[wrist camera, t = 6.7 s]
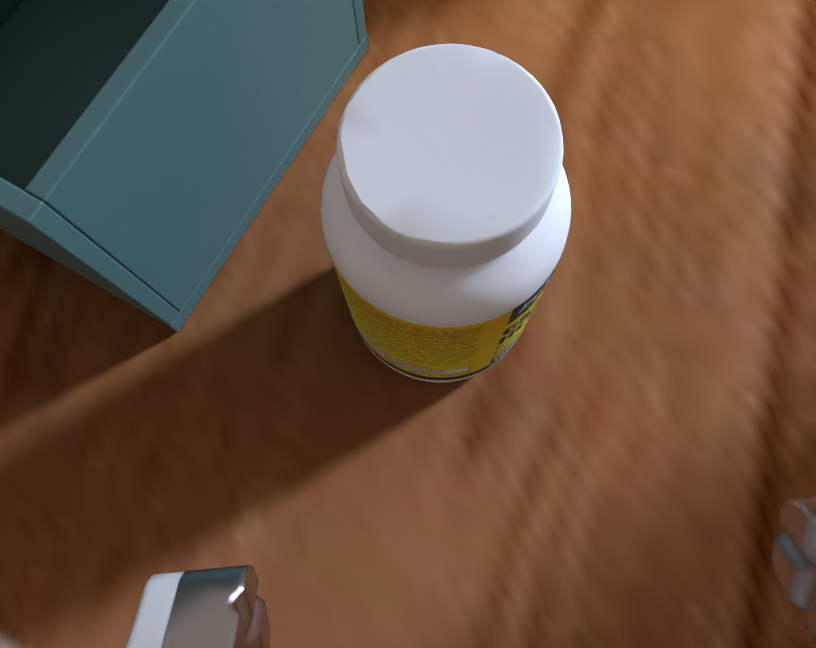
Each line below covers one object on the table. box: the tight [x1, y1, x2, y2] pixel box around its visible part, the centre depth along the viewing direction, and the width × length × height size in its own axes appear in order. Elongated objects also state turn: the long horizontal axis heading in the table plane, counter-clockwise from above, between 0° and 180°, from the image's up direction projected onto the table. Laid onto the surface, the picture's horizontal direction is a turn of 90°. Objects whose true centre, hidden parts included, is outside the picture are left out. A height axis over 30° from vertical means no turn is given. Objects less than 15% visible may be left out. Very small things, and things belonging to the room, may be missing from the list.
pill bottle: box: [321, 44, 571, 383], centre depth 20 cm, size 6×6×11 cm
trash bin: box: [0, 0, 368, 332], centre depth 23 cm, size 13×13×10 cm
